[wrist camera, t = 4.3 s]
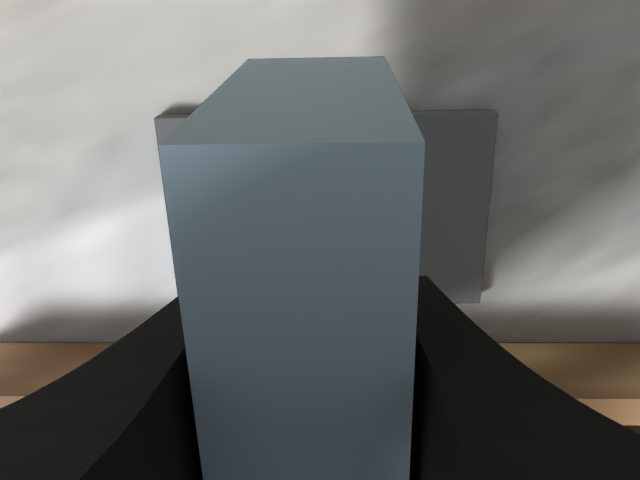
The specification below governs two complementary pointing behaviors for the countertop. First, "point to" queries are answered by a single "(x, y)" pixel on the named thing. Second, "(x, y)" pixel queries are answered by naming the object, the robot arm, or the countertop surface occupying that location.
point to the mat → (442, 195)
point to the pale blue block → (299, 269)
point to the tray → (543, 358)
